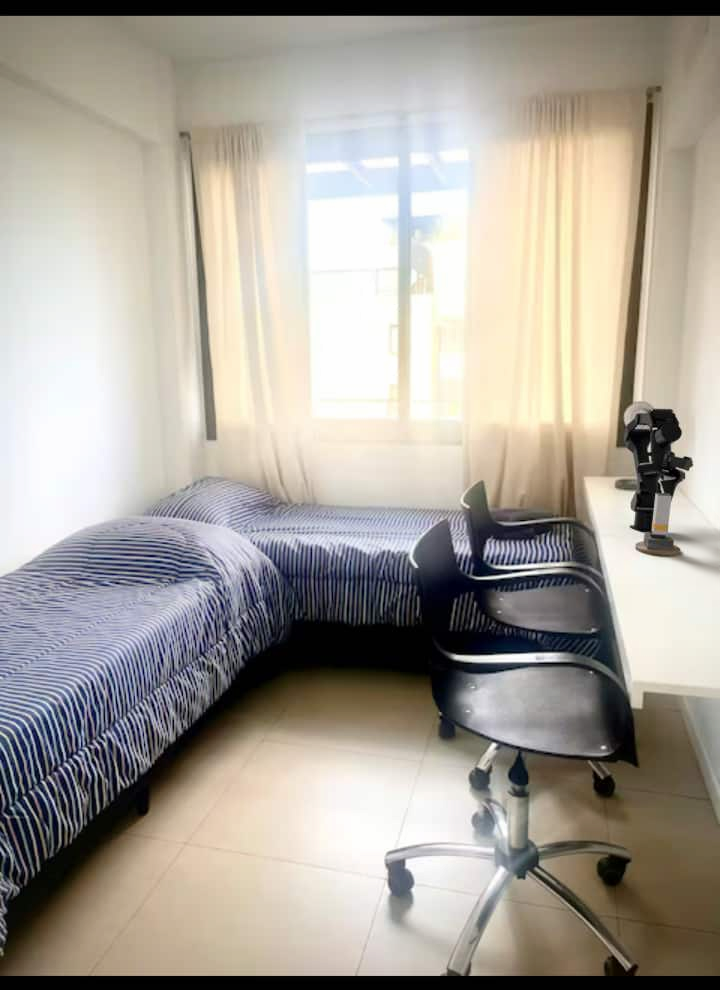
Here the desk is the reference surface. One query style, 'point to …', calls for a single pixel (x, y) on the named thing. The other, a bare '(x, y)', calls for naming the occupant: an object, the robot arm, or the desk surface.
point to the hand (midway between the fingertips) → (662, 500)
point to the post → (661, 513)
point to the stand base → (658, 545)
